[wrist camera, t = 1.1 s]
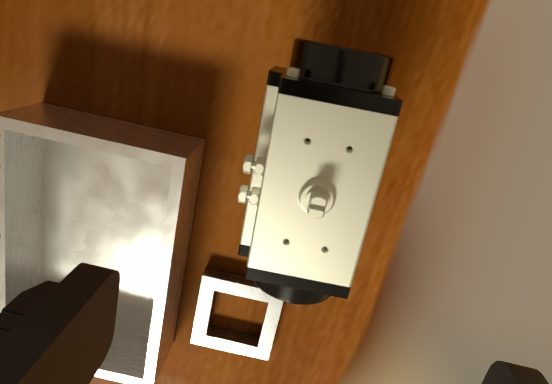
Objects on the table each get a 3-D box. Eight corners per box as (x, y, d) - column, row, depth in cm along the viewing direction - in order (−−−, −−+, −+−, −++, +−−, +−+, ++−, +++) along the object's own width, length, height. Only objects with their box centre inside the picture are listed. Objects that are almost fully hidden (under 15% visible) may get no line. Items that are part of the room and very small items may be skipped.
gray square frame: (206, 266, 32) (202, 275, 30) (286, 284, 32) (285, 294, 30) (194, 332, 34) (190, 343, 33) (269, 350, 34) (268, 360, 33)
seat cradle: (42, 102, 28) (-9, 114, 24) (205, 139, 28) (186, 158, 24) (37, 312, 34) (-5, 354, 30) (173, 343, 34) (152, 389, 30)
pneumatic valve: (373, 52, 26) (422, 62, 15) (330, 227, 30) (342, 342, 19) (282, 34, 26) (261, 32, 15) (251, 211, 30) (216, 316, 19)
